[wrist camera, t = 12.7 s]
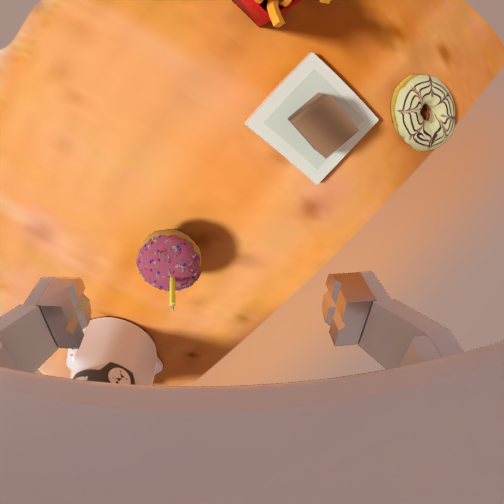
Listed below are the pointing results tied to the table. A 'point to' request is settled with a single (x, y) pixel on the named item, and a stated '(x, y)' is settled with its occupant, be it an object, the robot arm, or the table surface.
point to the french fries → (267, 10)
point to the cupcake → (169, 261)
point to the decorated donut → (410, 104)
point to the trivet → (295, 96)
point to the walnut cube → (323, 124)
